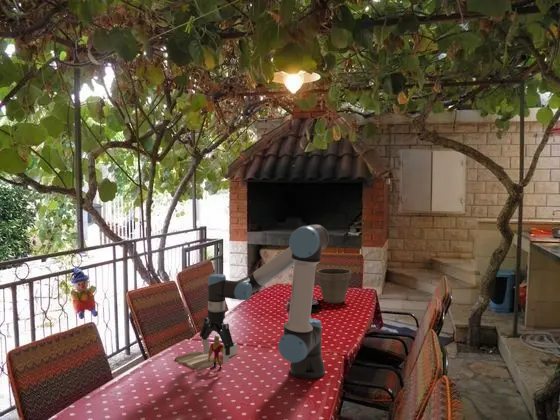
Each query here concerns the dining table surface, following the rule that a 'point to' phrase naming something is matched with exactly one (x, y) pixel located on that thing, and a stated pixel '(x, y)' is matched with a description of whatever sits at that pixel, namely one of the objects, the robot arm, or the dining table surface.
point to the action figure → (216, 352)
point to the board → (196, 360)
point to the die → (233, 349)
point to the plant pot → (334, 284)
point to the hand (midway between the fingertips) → (215, 357)
